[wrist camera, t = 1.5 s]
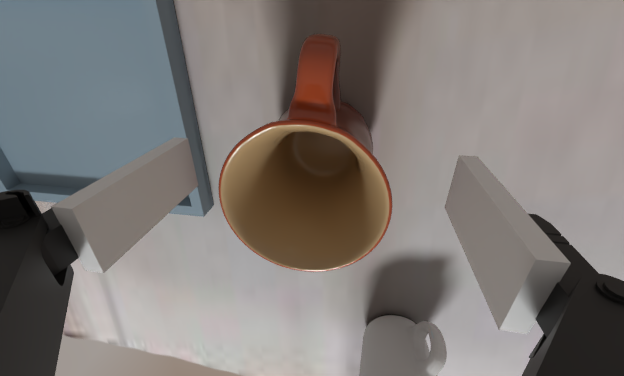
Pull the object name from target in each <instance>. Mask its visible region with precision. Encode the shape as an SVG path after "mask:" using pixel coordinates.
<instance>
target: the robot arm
mask: <svg viewBox="0 0 624 376" xmlns="http://www.w3.org/2000/svg"><path fill="white" fill-rule="evenodd" d="M197 186H198V181H197V177H196V172H195V168H194V163H193V159H192V154H191V150H190V145H189V141H188V138H175V137H174V138H172V139H171V140H169V141H167V142H165V143H164V144H162V145H160V146H158V147H156V148H155V149H153V150H151V151H149V152H147V153H146V154H144V155H142V156H140V157H139V158H137V159H135V160H133V161H131V162H130V163H128V164H126V165H124V166H123V167H121V168H119V169H117V170H115V171H114V172H112V173H110V174H108V175H106V176H105V177H103V178H101V179H99V180H98V181H96V182H94V183H92V184H90V185H89V186H87V187H85V188H83V189H81V190H80V191H78V192H76V193H74V194H73V195H71V196H69V197H67V198H65V199H64V200H62V201H60V202H58V203H56V204H55V205H53V206H51V209H49V210H48V211H46V212H44V213H42V214H41V212H40V210H39V208H38V207H37V205H36V203H35V201H34V199H33V198H32V196H31V194H30V192H29V191H27V190H10V191H5V192H0V376H55V371H56V365H57V360H58V355H59V349H60V344H61V339H62V334H63V328H64V323H65V317H66V312H67V307H68V301H69V296H70V291H71V285H72V280H73V275H74V272H73V269H72V267H71V265H70V264H71V263H72V262H74V261H75V260H76V259H78V258H79V260H80V262H81V264H82V266H83V268H84V269H85V271H92V272H99V273H104V272H105V271H107V270H108V269H109V268H110V267H111V266H112V265H113V264H114V263H115V262H116V261H117V260H118V259H120V258H121V257H122V256H123V255H124V254H125V253H126V252H127V251H128V250H129V249H130V248H131V247H132V246H134V245H135V244H136V243H137V242H138V241H139V240H140V239H141V238H142V237H143V236H144V235H145V234H146V233H148V232H149V231H150V230H151V229H152V228H153V227H154V226H155V225H156V224H157V223H158V222H159V221H161V220H162V219H163V218H164V217H165V216H166V215H167V214H168V213H169V212H170V211H171V210H172V209H173V208H175V207H176V206H177V205H178V204H179V203H180V202H181V201H182V200H183V199H184V198H185V197H186V196H187V195H189V194H190V193H191V192H192V191H193V190H194V189H195V188H196V187H197ZM445 209H446V211H447V213H448V216H449V218H450V220H451V222H452V225H453V227H454V229H455V232H456V234H457V236H458V238H459V241H460V243H461V245H462V247H463V250H464V252H465V254H466V256H467V259H468V261H469V263H470V265H471V268H472V270H473V272H474V274H475V277H476V279H477V281H478V283H479V286H480V288H481V290H482V293H483V295H484V297H485V299H486V302H487V304H488V306H489V308H490V311H491V313H492V315H493V317H494V320H495V322H496V324H497V326H498V329H499V330H503V331H510V332H517V333H523V334H528V333H529V331H530V330H531V328H532V326H533V325H534V323H535V322H536V320H537V322H538V324H539V326H540V327H541V329H542V331H543V332H544V334H543V336H542V337H541V339H540V341H539V342H538V344H537V345H536V347H535V348H534V350H533V351H532V353H531V354H530V356H529V358H530V360H529V362H528V364H527V366H526V368H525V370H524V372H523V374H522V376H624V281H622V280H620V279H617V278H614V277H611V276H608V275H604V274H599V273H598V272H597V271H596V270H595V269H594V268H593V267H592V266H591V265H590V264H589V263H588V262H587V261H586V260H585V259H584V258H583V257H582V256H581V254H580V253H579V252H578V251H577V250H576V249H575V248H574V247H573V246H572V245H569V242H568V241H567V240H566V239H565V238H564V237H563V236H561V234H560V232H559V231H558V230H557V229H556V228H555V227H554V226H553V225H552V224H551V223H549V222H547V221H546V220H544V219H543V218H541V217H540V216H538V215H536V214H527V212H526V211H525V210H524V209H523V208H522V207H521V206H520V205H519V203H518V202H517V201H516V200H515V199H514V198H513V197H512V195H511V194H510V193H509V192H508V191H507V190H506V189H505V187H504V186H503V185H502V184H501V183H500V182H499V181H498V179H497V178H496V177H495V176H494V175H493V174H492V173H491V171H490V170H489V169H488V168H487V167H486V166H485V165H484V163H483V162H482V161H481V160H480V159H479V158H478V157H476V156H460V155H459V158H458V161H457V165H456V168H455V172H454V176H453V179H452V183H451V186H450V190H449V194H448V197H447V201H446V204H445Z"/></svg>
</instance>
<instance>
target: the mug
mask: <svg viewBox="0 0 624 376" xmlns="http://www.w3.org/2000/svg"><path fill="white" fill-rule="evenodd" d="M340 56H341V45H340V41H339V39H338V38H337V37H335V36H333V35H327V34H313V35H310V36H308V37H307V38H306V39H305V41H304V42H303V44H302V47H301V51H300V55H299V61H298V68H297V79H296V87H295V92H294V96H293V98H292V100H291V103H290V106H289V109H288V110H287V111H286V112H285V113H284V114H283V115H282V116H281V118H280V119H279V121H276V122H271V123H269V124H266V125H264V126H262V127H260V128H258V129H257V130H255V131H253V132H252V133H250V134H248V135H247V136H246V137H244V138H243V139H242V140H241V141H240V142H239V143H238V144H237V145H236V146H235V147H234V148H233V149H232V151H231V152H230V153H229V155H228V157H227V158H226V160H225V162H224V165H223V167H222V170H221V174H220V179H219V198H220V203H221V207H222V210H223V213H224V216H225V218H226V220H227V222H228V224H229V225H230V227H231V229H232V230H233V231H234V233H235V234H236V235H237V237H238V238H239V239H240V240H241V241H242V242H243V243H244V244H245V245H246V246H247V247H248V248H250V249H251V250H252V251H253V252H255V253H256V254H258V255H259V256H261V257H262V258H264V259H266V260H268V261H270V262H272V263H275V264H277V265H280V266H282V267H286V268H289V269H294V270H299V271H309V272H320V271H329V270H335V269H339V268H342V267H345V266H348V265H350V264H353V263H355V262H357V261H358V260H360V259H362V258H363V257H365V256H366V255H367V254H369V253H370V252H371V251H372V250H373V249H374V248H375V247H376V246H377V245H378V243H379V242H380V241H381V239H382V238H383V236H384V235H385V232H386V230H387V228H388V225H389V222H390V218H391V214H392V195H391V189H390V185H389V182H388V179H387V177H386V174H385V172H384V170H383V169H382V167H381V165H380V164H379V162H378V161H377V159H376V158H375V157H374V156H373V142H372V137H371V133H370V131H369V128H368V126H367V125H366V123H365V121H364V118H363V116H362V115H361V114H360V113H359V112H358V111H357V110H355V109H354V108H353V107H352V106H351V105H349V104H348V103H346V102H344V101H341V93H340V85H339V67H340Z"/></svg>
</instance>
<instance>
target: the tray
mask: <svg viewBox="0 0 624 376" xmlns="http://www.w3.org/2000/svg"><path fill="white" fill-rule="evenodd" d="M174 137H175V138H188V141H189V145H190V150H191V154H192V159H193V163H194V168H195V172H196V177H197V181H198V186H197V187H196V188H195V189H194V190H193V191H192V192H191V193H190V194H189V195H187V196H186V197H185V198H184V199H183V200H182V201H181V202H180V203H179V204H178V205H177V206H176V207H175V208H173V209H172V210H171V211H170V212H169V213H172V214H182V215H193V216H203V217H204V216H205V215H206V214H207V212H208V211H209V210H210V209H211V208H212V206H213V205H214V204H213V199H212V194H211V189H210V184H209V179H208V174H207V169H206V164H205V159H204V154H203V149H202V144H201V139H200V134H199V129H198V124H197V119H196V114H195V109H194V104H193V98H192V93H191V88H190V83H189V78H188V73H187V68H186V63H185V58H184V53H183V48H182V43H181V38H180V33H179V28H178V23H177V18H176V13H175V8H174V3H173V0H0V192H5V191H10V190H27V191H29V192H30V194H31V196H32V198H33V199H34V201H45V202H56V203H58V202H60V201H62V200H64V199H65V198H67V197H69V196H71V195H73V194H74V193H76V192H78V191H80V190H81V189H83V188H85V187H87V186H89V185H90V184H92V183H94V182H96V181H98V180H99V179H101V178H103V177H105V176H106V175H108V174H110V173H112V172H114V171H115V170H117V169H119V168H121V167H123V166H124V165H126V164H128V163H130V162H131V161H133V160H135V159H137V158H139V157H140V156H142V155H144V154H146V153H147V152H149V151H151V150H153V149H155V148H156V147H158V146H160V145H162V144H164V143H165V142H167V141H169V140H171V139H172V138H174Z"/></svg>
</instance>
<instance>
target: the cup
mask: <svg viewBox="0 0 624 376" xmlns="http://www.w3.org/2000/svg"><path fill="white" fill-rule="evenodd" d="M428 333H429V336H430V341H431V351H430V352H429V349H428V345H427V342H426V340H425V338H426V336H427V334H428ZM446 356H447V352H446V345H445V341H444V338H443V336H442V333H441V332H440V330H439V329H438V327H437V326H436V325H434V324H432V323H430V322H428V321H422V322H420V323H418V324H417V325H416V324H415V323H414V322H413V321H411V320H409V319H407V318H405V317H401V316H396V315H387V316H381V317H378V318H376V319H374V320H373V321H371V322H370V323H369V324H368V326H367V327H366V329H365V332H364V337H363V345H362V354H361V364H360V374H359V376H437V374H438V373H439V372H440V371H441V370H442V368H443V367H444V365H445V362H446Z"/></svg>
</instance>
